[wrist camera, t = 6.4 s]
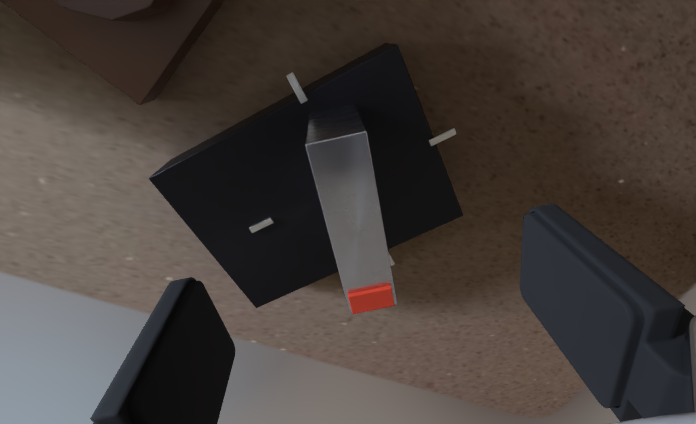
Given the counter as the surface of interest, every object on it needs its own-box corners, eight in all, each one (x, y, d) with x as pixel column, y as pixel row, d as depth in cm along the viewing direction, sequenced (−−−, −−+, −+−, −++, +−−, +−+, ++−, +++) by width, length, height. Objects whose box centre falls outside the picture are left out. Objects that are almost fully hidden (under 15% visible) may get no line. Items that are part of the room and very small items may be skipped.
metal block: (309, 112, 17) (304, 146, 12) (354, 102, 17) (367, 132, 12) (343, 248, 21) (350, 318, 16) (379, 240, 21) (398, 308, 16)
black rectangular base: (397, 10, 18) (411, 6, 15) (468, 200, 23) (488, 223, 20) (157, 143, 20) (131, 161, 17) (271, 289, 26) (265, 321, 23)
